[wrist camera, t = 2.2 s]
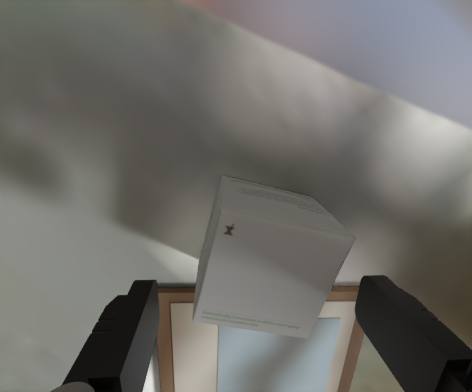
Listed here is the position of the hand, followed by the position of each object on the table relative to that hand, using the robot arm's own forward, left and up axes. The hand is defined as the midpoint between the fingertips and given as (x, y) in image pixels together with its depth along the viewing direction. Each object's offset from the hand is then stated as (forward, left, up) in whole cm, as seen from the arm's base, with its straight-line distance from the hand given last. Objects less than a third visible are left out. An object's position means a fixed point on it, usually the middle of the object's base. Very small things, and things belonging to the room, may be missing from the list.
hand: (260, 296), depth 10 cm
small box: (-1, 0, -6) cm, 6 cm away
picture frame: (-2, +10, -5) cm, 12 cm away
